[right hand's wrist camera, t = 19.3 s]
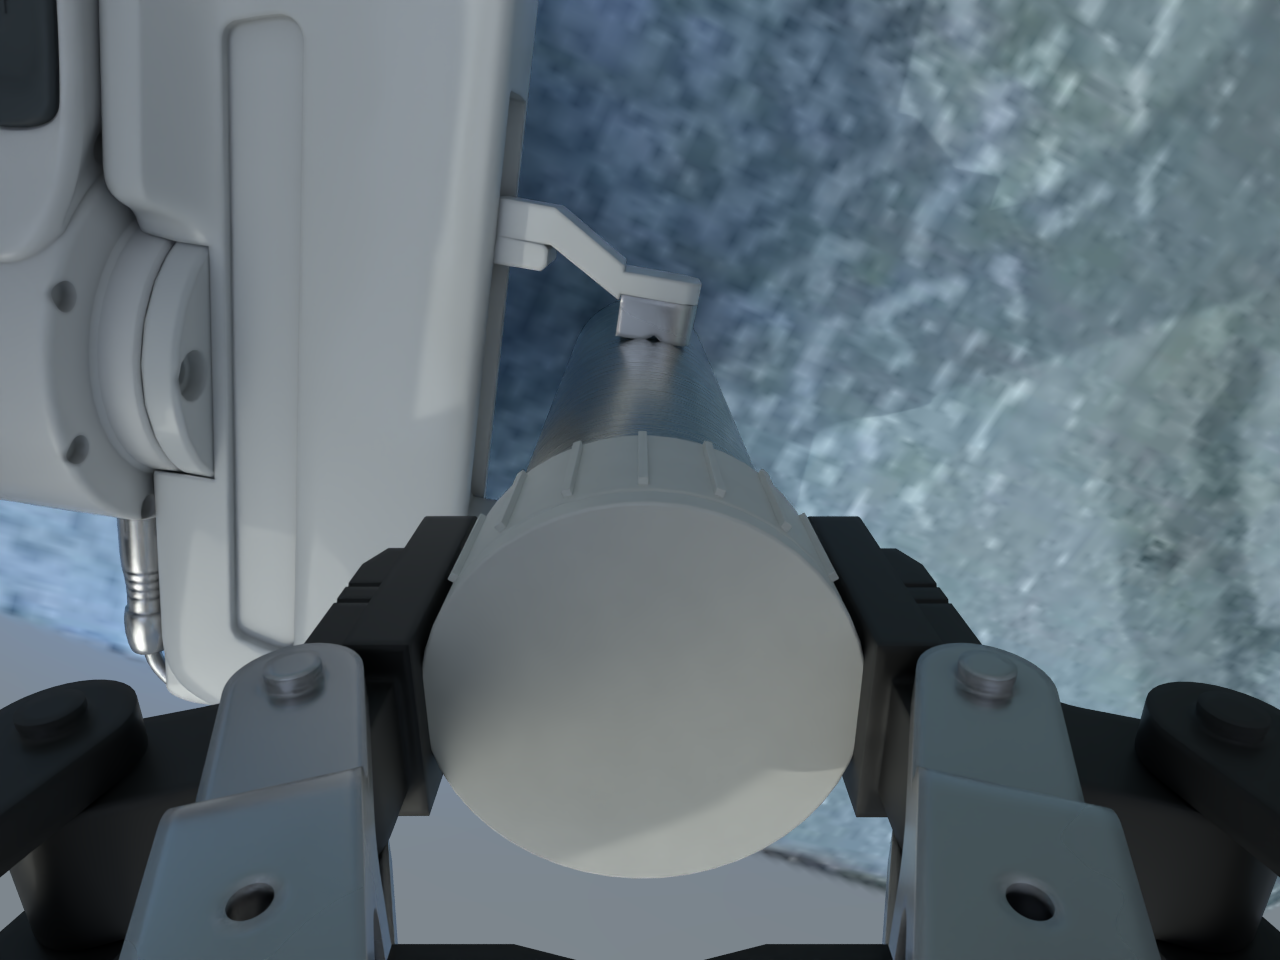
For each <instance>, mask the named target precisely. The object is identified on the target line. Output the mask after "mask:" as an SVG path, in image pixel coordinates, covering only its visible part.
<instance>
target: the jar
mask: <svg viewBox="0 0 1280 960" xmlns="http://www.w3.org/2000/svg"><path fill="white" fill-rule="evenodd" d="M619 307H620V301H618V302H615V303H613V304H611V305H608V306H607V307H605V308H603V309H602V310H600V311H599V312H598V313H596V314H595V315H594V316H593V317H592V318H591V319H590V320H589V321H588V322H587V323H586V325H585V326H584V327H583V329H582V331H581V333H580V334H579V336H578V339H577V341H576V344H575V347H574V349H573V352H572V354H571V357H570V359H569V362H568V365H567V367H566V370H565V372H564V375H563V378H562V380H561V383H560V385H559V388H558V390H557V393H556V396H555V398H554V401H553V403H552V406H551V409H550V411H549V414H548V416H547V419H546V422H545V424H544V427H543V429H542V432H541V434H540V437H539V440H538V442H537V445H536V447H535V450H534V453H533V455H532V458H531V460H530V463H529V465H528V468H527V471H526V473H528V472H529V471H530V470H531V469H533V468H535V467H536V466H538V465H540V464H541V463H543V462H545V461H546V460H548V459H550V458H551V457H553V456H556V455H558V454H560V453H562V452H565V451H567V450H569V449H572V446H573V443H574V442H577V441H581V442H582V445H584V444H587V443H591V442H594V441H598V440H603V439H609V438H616V437H622V436H638V431H647V436H649V435H651V436H661V437H671V438H678V439H682V440H687V441H691V442H695V443H700V444H703V442H704V440H705V441H708V442H711V443H712V445H713V448H714V449H716V450H719V451H722V452H724V453H726V454H728V455H730V456H732V457H734V458H736V459H738V460H739V461H741V462H743V463H745V464H747V465H748V466H749V467H751V468H752V469H754V467H753V464H752V462H751V460H750V457H749V455H748V453H747V450H746V448H745V446H744V443H743V441H742V439H741V436H740V434H739V432H738V429H737V427H736V425H735V422H734V420H733V418H732V415H731V413H730V411H729V408H728V406H727V403H726V401H725V399H724V396H723V394H722V392H721V389H720V387H719V385H718V382H717V380H716V378H715V375H714V373H713V371H712V368H711V366H710V364H709V361H708V359H707V357H706V354H705V352H704V350H703V347H702V345H701V342H700V340H699V338H698V336H697V334H696V332H695V330H694V328H693V330H692V335H691V339H690V344H689V346H674V345H670V344H667V343H664V342H660V341H659V340H658V339H657V338H656V337H655V336H652V337H650V338H647V339H632V338H627V337H621V336H616V329H617V321H618V314H619ZM754 470H755V469H754Z"/></svg>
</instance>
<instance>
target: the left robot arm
mask: <svg viewBox="0 0 1280 960" xmlns="http://www.w3.org/2000/svg"><path fill="white" fill-rule="evenodd" d="M538 1H539V0H0V500H6V501H13V502H20V503H26V504H32V505H36V506H43V507H49V508H56V509H63V510H69V511H76V512H82V513H89V514H96V515H102V516H109V517H116V518H117V526H118V540H119V553H120V559H121V566H122V570H123V573H124V577H125V584H126V590H127V606H126V607H125V613H124V624H125V632H126V636H127V639H128V643H129V645H130V647H131V649H132V651H133V652H135V653H137V654H141V655H145V657H146V659H147V662H148V664H149V665H150V667H151V668H152V670H153V671H154V673H155V674H156V675H157V676H158V677H159V678H160V679H161V680H162V681H163V682H164V683H165V684H166V686H167V689H168V690H169V692H170V693H171V694H173V695H175V696H177V697H179V698H181V699H184V700H187V701H190V702H195V703H201V704H208V705H214V704H218V703H220V699H221V695H222V691H223V689H224V686H225V684H226V683H227V681H228V680H229V678H230V677H231V676H232V675H233V674H234V673H235V672H236V671H238V670H239V669H240V668H242V667H243V666H244V665H246V664H248V663H249V662H251V661H252V660H254V659H256V658H258V657H260V656H263V655H265V654H267V653H270V652H273V651H275V650H279V649H282V648H285V647H290V646H294V645H300V644H304V643H305V641H306V640H307V639H308V637H309V636H310V635H311V633H312V632H313V630H314V629H315V628H316V626H317V625H318V624H319V622H320V621H321V620H322V618H323V617H324V615H325V614H326V613H327V611H328V610H329V609H330V607H331V606H332V605H333V603H337V598H338V596H339V595H340V594H341V592H342V591H343V590H344V588H345V587H348V583H349V581H350V580H351V579H352V577H353V576H354V575H355V573H356V572H357V571H358V569H359V568H360V566H361V565H362V564H363V563H365V562H366V561H368V560H370V559H371V558H373V557H375V556H376V555H378V554H379V553H381V552H383V551H384V550H386V549H387V548H405V546H406V544H407V543H408V541H409V540H410V538H411V537H412V535H413V534H414V532H415V531H416V529H417V528H418V526H419V524H420V523H421V521H422V520H423V518H424V517H425V516H476V517H477V518H478V517H479V515H480V514H483V515H485V516H487V514H488V513H489V512H490V510H491V509H492V507H493V506H494V505H495V503H496V502H497V501H498V500H493V499H487V498H485V495H486V486H487V476H488V467H489V458H490V449H491V439H492V430H493V421H494V411H495V402H496V393H497V383H498V374H499V365H500V355H501V346H502V337H503V327H504V318H505V309H506V299H507V290H508V281H509V271H510V266H513V267H519V268H525V269H531V270H537V271H541V270H543V269H544V268H545V267H547V266H548V265H549V264H550V263H552V262H553V261H554V260H555V259H556V255H557V251H559V252H560V253H561V254H562V255H564V256H565V257H566V258H567V259H569V260H570V261H571V262H572V263H574V264H575V265H576V266H577V267H578V268H580V269H581V270H582V271H583V272H585V273H586V274H587V275H588V276H590V277H591V278H592V279H593V280H595V281H596V282H597V283H598V284H599V285H601V286H602V287H603V288H604V289H606V290H607V291H608V292H609V293H611V294H612V295H613V296H614V297H615V298H617V299H618V300H619V298H620V295H621V300H620V307H619V314H618V321H617V329H616V336H621V337H627V338H632V339H647V338H650V337H652V336H655V337H656V338H657V339H658V340H659V341H660V342H664V343H667V344H670V345H674V346H689V344H690V339H691V335H692V330H693V325H694V320H695V316H696V311H697V306H698V300H699V295H700V290H701V285H702V284H701V282H700V280H699V279H697V278H694V277H691V276H687V275H684V274H678V273H672V272H667V271H661V270H655V269H650V268H644V267H638V266H633V265H627V264H626V260H627V259H626V258H625V257H624V256H622V255H621V254H620V253H619V252H618V251H617V250H615V249H614V248H613V247H612V246H611V245H610V244H608V243H607V242H606V241H605V240H604V239H603V238H601V237H600V236H599V235H598V234H597V233H595V232H594V231H593V230H592V229H591V228H590V227H588V226H587V225H586V224H585V223H584V222H583V221H581V220H580V219H579V218H578V217H577V216H576V215H574V214H573V213H572V212H571V211H570V210H568V209H567V208H566V207H565V206H564V205H558V204H553V203H547V202H542V201H536V200H531V199H525V198H519V197H518V188H519V178H520V169H521V160H522V150H523V141H524V132H525V122H526V113H527V104H528V94H529V85H530V76H531V66H532V57H533V48H534V38H535V29H536V20H537V10H538ZM163 650H164V651H165V658H164V656H163V654H162V651H163Z"/></svg>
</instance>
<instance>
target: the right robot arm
mask: <svg viewBox="0 0 1280 960" xmlns="http://www.w3.org/2000/svg"><path fill="white" fill-rule="evenodd" d="M477 519H478V518H477V517H476V516H425V517H424V518H423V520H422V521H421V523H420V524H419V526H418V528H417V529H416V531H415V532H414V534H413V535H412V537H411V538H410V540H409V541H408V543H407V544H406V546H405V548H387V549H386V550H384V551H383V552H381V553H379V554H378V555H376V556H375V557H373V558H371V559H370V560H368V561H366V562H365V563H363V564H362V565H361V566H360V568H359V569H358V571H357V572H356V573H355V575H354V576H353V577H352V579H351V580H350V581H349V583H348V587H345V588H344V590H343V591H342V592H341V594H340V595H339V596H338V598H337V603H333V605H332V606H331V607H330V609H329V610H328V611H327V613H326V614H325V615H324V617H323V618H322V620H321V621H320V622H319V624H318V625H317V626H316V628H315V629H314V630H313V632H312V633H311V635H310V636H309V637H308V639H307V640H306V641H305V643H304V644H300V645H294V646H290V647H285V648H282V649H279V650H275V651H273V652H270V653H267V654H265V655H263V656H260V657H258V658H256V659H254V660H252V661H251V662H249V663H248V664H246V665H244V666H243V667H242V668H240V669H239V670H238V671H236V672H235V673H234V674H233V675H232V676H231V677H230V678H229V680H228V681H227V683H226V684H225V686H224V689H223V691H222V695H221V699H220V703H218V704H214V705H210V706H206V707H201V708H196V709H190V710H185V711H180V712H175V713H170V714H165V715H159V716H154V717H149V718H143V717H142V714H141V710H140V706H139V702H138V699H137V695H136V693H135V691H134V690H133V689H132V688H131V687H130V686H128V685H126V684H124V683H121V682H118V681H112V680H86V681H78V682H73V683H67V684H63V685H60V686H55V687H52V688H49V689H45V690H42V691H39V692H37V693H34V694H32V695H29V696H27V697H24V698H22V699H20V700H18V701H16V702H14V703H12V704H10V705H8V706H6V707H4V708H3V709H1V710H0V877H1V876H2V875H4V874H5V873H6V872H7V871H9V870H10V873H11V875H12V878H13V881H14V884H15V886H16V889H17V892H18V894H19V897H20V900H21V902H22V905H23V908H24V910H25V911H23V912H22V913H21V914H20V915H19V916H18V917H17V918H16V919H14V920H13V921H12V922H11V923H10V924H9V925H7V926H6V927H5V928H4V929H3V930H2V931H1V932H0V960H574V959H570V958H566V957H562V956H558V955H554V954H550V953H546V952H542V951H539V950H534V949H531V948H527V947H523V946H519V945H515V944H398V942H397V927H396V913H395V899H394V884H393V870H392V858H391V851H390V845H389V838H390V836H391V833H392V831H393V828H394V825H395V823H396V820H397V817H398V816H429V815H430V812H431V809H432V806H433V803H434V800H435V797H436V794H437V791H438V788H439V785H440V782H441V779H442V776H443V773H442V771H441V769H440V767H439V765H438V763H437V761H436V759H435V756H434V754H433V752H432V750H431V744H430V736H429V728H428V719H427V710H426V701H425V692H424V683H423V672H422V662H423V656H424V650H425V647H426V644H427V641H428V638H429V635H430V632H431V629H432V626H433V624H434V622H435V620H436V618H437V616H438V614H439V612H440V610H441V607H442V605H443V603H444V601H445V599H446V597H447V595H448V593H449V590H450V588H451V586H452V584H453V582H451V581H449V580H448V577H449V575H450V573H451V571H452V569H453V567H454V565H455V563H456V561H457V559H458V557H459V555H460V553H461V551H462V549H463V547H464V545H465V543H466V541H467V539H468V537H469V535H470V533H471V531H472V529H473V527H474V525H475V523H476V521H477ZM808 519H809V521H810V523H811V525H812V527H813V529H814V531H815V533H816V535H817V537H818V539H819V541H820V543H821V545H822V546H823V548H824V550H825V552H826V554H827V556H828V558H829V560H830V562H831V564H832V566H833V568H834V570H835V572H836V573H837V575H838V577H839V579H838V580H836V581H834V584H835V586H836V588H837V590H838V592H839V594H840V596H841V599H842V601H843V603H844V605H845V607H846V609H847V611H848V613H849V615H850V617H851V619H852V622H853V624H854V627H855V629H856V632H857V634H858V637H859V639H860V642H861V647H862V651H863V657H864V664H863V675H862V683H861V692H860V701H859V709H858V718H857V726H856V735H855V744H854V751H853V756H852V758H851V761H850V763H849V765H848V766H847V768H846V770H845V771H844V773H843V775H842V777H843V780H844V783H845V785H846V788H847V791H848V794H849V797H850V800H851V803H852V806H853V809H854V812H855V815H856V817H888V819H889V822H890V824H891V827H892V829H893V830H892V837H891V844H890V851H889V858H888V869H887V884H886V898H885V913H884V927H883V941H882V944H765V945H761V946H757V947H754V948H749V949H746V950H742V951H738V952H734V953H730V954H726V955H722V956H718V957H714V958H710V959H706V960H1280V932H1279V931H1278V930H1277V929H1276V928H1275V927H1274V926H1273V925H1271V924H1270V923H1269V922H1268V921H1267V920H1266V919H1265V918H1263V917H1262V916H1263V913H1264V910H1265V908H1266V905H1267V902H1268V900H1269V897H1270V894H1271V892H1272V889H1273V887H1274V884H1275V881H1276V879H1277V876H1279V877H1280V710H1279V709H1277V708H1275V707H1274V706H1272V705H1270V704H1267V703H1265V702H1263V701H1261V700H1259V699H1257V698H1254V697H1251V696H1249V695H1246V694H1244V693H1241V692H1237V691H1234V690H1231V689H1228V688H1224V687H1220V686H1216V685H1210V684H1204V683H1196V682H1172V683H1166V684H1162V685H1159V686H1157V687H1155V688H1153V689H1152V690H1151V691H1150V692H1149V693H1148V695H1147V698H1146V701H1145V705H1144V709H1143V712H1142V716H1141V719H1137V718H1132V717H1126V716H1121V715H1116V714H1111V713H1106V712H1100V711H1095V710H1090V709H1085V708H1080V707H1076V706H1071V705H1068V704H1064V703H1061V702H1060V699H1059V695H1058V691H1057V689H1056V686H1055V684H1054V683H1053V681H1052V680H1051V679H1050V677H1049V676H1048V675H1047V674H1046V673H1045V672H1044V671H1042V670H1041V669H1040V668H1038V667H1037V666H1036V665H1034V664H1032V663H1031V662H1029V661H1027V660H1026V659H1024V658H1022V657H1020V656H1017V655H1015V654H1013V653H1010V652H1007V651H1005V650H1001V649H998V648H995V647H990V646H986V645H982V644H981V643H980V641H979V640H978V639H977V637H976V636H975V635H974V633H973V632H972V631H971V629H970V628H969V627H968V625H967V624H966V623H965V621H964V620H963V619H962V617H961V616H960V614H959V613H958V612H957V610H956V609H955V608H954V606H953V605H952V604H949V603H948V598H947V597H946V596H945V594H944V593H943V592H942V590H941V589H940V588H939V587H937V586H936V582H935V581H934V580H933V578H932V577H931V576H930V574H929V573H928V572H927V570H926V569H925V568H924V566H923V565H922V564H920V563H919V562H917V561H916V560H914V559H912V558H911V557H909V556H907V555H906V554H904V553H902V552H901V551H899V550H898V549H881V548H880V547H879V545H878V544H877V542H876V541H875V539H874V538H873V536H872V535H871V533H870V532H869V530H868V529H867V527H866V526H865V524H864V523H863V521H862V520H861V519H860V517H839V516H810V517H808Z"/></svg>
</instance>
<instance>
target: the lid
mask: <svg viewBox="0 0 1280 960" xmlns="http://www.w3.org/2000/svg"><path fill="white" fill-rule="evenodd" d="M838 579H839V577H838V575H837V573H836V572H835V570H834V568H833V566H832V564H831V562H830V560H829V558H828V556H827V554H826V552H825V550H824V548H823V546H822V545H821V543H820V541H819V539H818V537H817V535H816V533H815V531H814V529H813V527H812V525H811V523H810V521H809V519H808V518H807V516H806V515H805V513H803V514H801V515H798V513H797V512H796V510H795V509H794V508H793V507H792V505H791V504H790V503H789V502H788V500H787V499H786V498H785V497H784V495H783V494H782V493H781V492H780V491H779V490H778V489H777V488H776V487H775V486H773V483H772V481H771V479H770V477H769V475H768V473H767V472H766V471H764V470H763V469H761V470H760V472H759V473H758V472H756V471H755V470H754V469H752V468H751V467H749V466H748V465H747V464H745V463H743V462H741V461H739V460H738V459H736V458H734V457H732V456H730V455H728V454H726V453H724V452H722V451H719V450H716V449H714V448H713V445H712V443H711V442H708V441H705V440H704V442H703V444H700V443H695V442H691V441H687V440H682V439H678V438H671V437H661V436H651V435H649V436H647V431H638V436H622V437H616V438H609V439H603V440H598V441H594V442H591V443H587V444H584V445H582V442H581V441H577V442H574V443H573V446H572V449H569V450H567V451H565V452H562V453H560V454H558V455H556V456H553V457H551V458H550V459H548V460H546V461H545V462H543V463H541V464H540V465H538V466H536V467H535V468H533V469H531V470H530V471H529V472H528V473H526V472H525V471H524V470H521V471H520V472H519V473H518V474H517V475H516V478H515V480H514V482H513V485H512V486H511V487H510V488H509V489H508V490H507V491H506V492H505V493H504V494H503V495H502V496H501V497H500V498H499V499H498V501H497V502H496V503H495V505H494V506H493V507H492V509H491V510H490V512H489V513H488V514H487V516H485V515H483V514H480V515H479V517H478V519H477V521H476V523H475V525H474V527H473V529H472V531H471V533H470V535H469V537H468V539H467V541H466V543H465V545H464V547H463V549H462V551H461V553H460V555H459V557H458V559H457V561H456V563H455V565H454V567H453V569H452V571H451V573H450V575H449V577H448V580H449V581H451V582H453V584H452V586H451V588H450V590H449V593H448V595H447V597H446V599H445V601H444V603H443V605H442V607H441V610H440V612H439V614H438V616H437V618H436V620H435V622H434V624H433V626H432V629H431V632H430V635H429V638H428V641H427V644H426V647H425V650H424V656H423V662H422V672H423V683H424V692H425V701H426V710H427V719H428V728H429V736H430V744H431V750H432V752H433V754H434V756H435V759H436V761H437V763H438V765H439V767H440V769H441V771H442V773H443V774H444V776H445V777H446V779H447V780H448V782H449V783H450V785H451V786H452V788H453V790H454V791H455V792H456V794H457V795H458V796H459V797H460V798H461V799H462V800H463V802H464V803H465V804H466V805H467V806H468V807H469V809H470V810H471V811H472V812H473V813H474V814H476V815H477V816H478V817H479V818H480V819H481V820H482V821H483V822H485V823H486V824H487V825H488V826H489V827H490V828H492V829H493V830H495V831H496V832H497V833H499V834H500V835H501V836H503V837H504V838H506V839H507V840H509V841H510V842H512V843H513V844H515V845H517V846H519V847H521V848H523V849H525V850H526V851H528V852H530V853H532V854H534V855H536V856H539V857H541V858H544V859H546V860H549V861H551V862H553V863H556V864H559V865H562V866H566V867H569V868H572V869H576V870H579V871H583V872H588V873H594V874H599V875H605V876H612V877H624V878H664V877H672V876H681V875H688V874H693V873H697V872H702V871H706V870H710V869H714V868H717V867H720V866H723V865H726V864H729V863H732V862H735V861H738V860H741V859H743V858H745V857H747V856H749V855H751V854H754V853H756V852H758V851H760V850H762V849H764V848H766V847H767V846H769V845H771V844H772V843H774V842H775V841H777V840H779V839H780V838H782V837H784V836H785V835H786V834H788V833H789V832H790V831H792V830H793V829H794V828H796V827H797V826H798V825H799V824H801V823H802V822H803V821H804V820H805V819H807V818H808V817H809V816H810V815H811V814H812V813H813V812H814V811H815V810H816V809H817V808H818V807H819V806H820V805H821V804H822V803H823V801H824V800H825V799H826V797H827V796H828V795H829V794H830V792H831V791H832V790H833V789H834V787H835V786H836V785H837V783H838V782H839V780H840V778H841V777H842V775H843V773H844V771H845V770H846V768H847V766H848V765H849V763H850V761H851V758H852V756H853V751H854V744H855V735H856V726H857V718H858V709H859V701H860V692H861V683H862V675H863V664H864V657H863V651H862V647H861V642H860V639H859V637H858V634H857V632H856V629H855V627H854V624H853V622H852V619H851V617H850V615H849V613H848V611H847V609H846V607H845V605H844V603H843V601H842V599H841V596H840V594H839V592H838V590H837V588H836V586H835V584H834V581H836V580H838Z"/></svg>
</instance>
